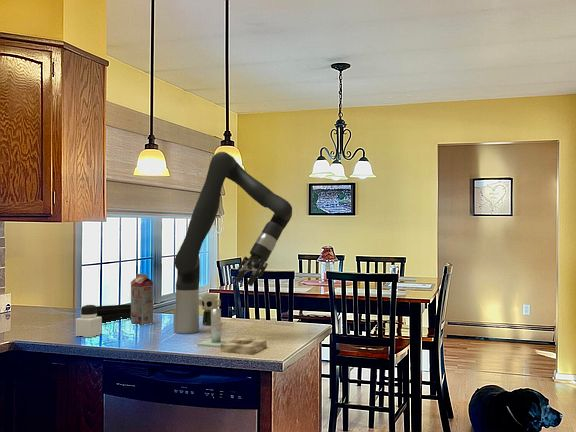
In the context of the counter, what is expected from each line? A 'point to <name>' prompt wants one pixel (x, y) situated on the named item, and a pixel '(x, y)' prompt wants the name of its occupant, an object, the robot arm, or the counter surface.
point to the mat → (209, 343)
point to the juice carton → (141, 300)
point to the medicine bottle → (88, 322)
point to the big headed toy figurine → (208, 305)
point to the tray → (114, 312)
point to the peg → (215, 325)
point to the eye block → (243, 346)
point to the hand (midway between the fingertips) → (243, 283)
